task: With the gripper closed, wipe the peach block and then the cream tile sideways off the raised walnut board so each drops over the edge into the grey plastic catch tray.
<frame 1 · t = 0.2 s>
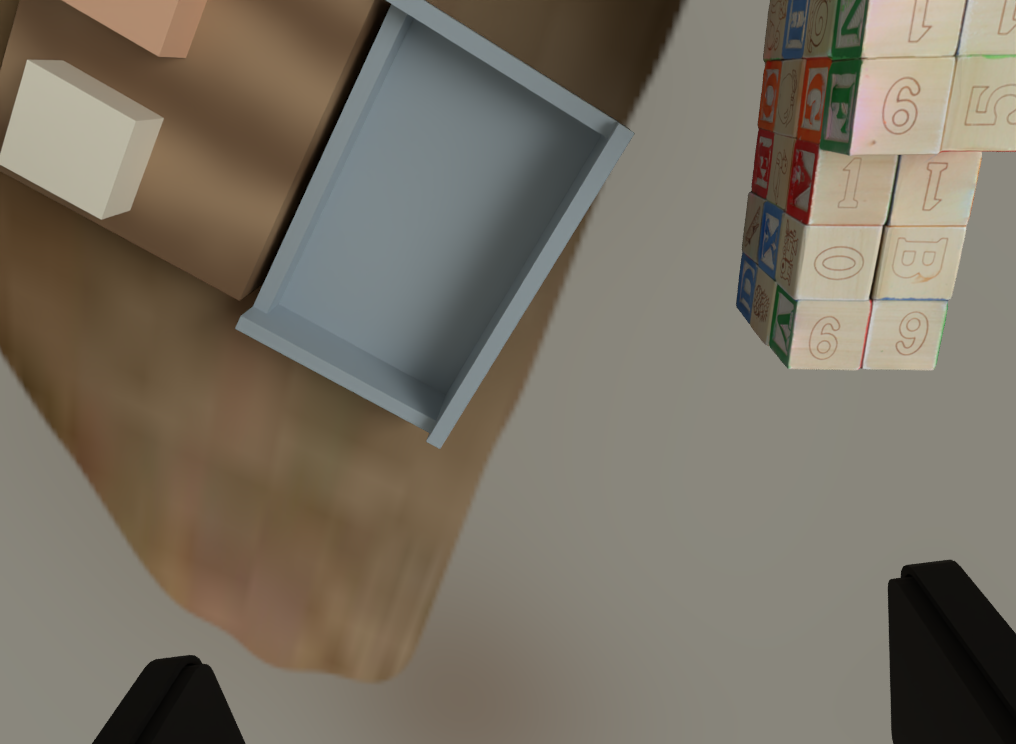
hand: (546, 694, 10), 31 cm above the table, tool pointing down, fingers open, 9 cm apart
walnut board: (194, 81, 37), on the table
stack of blocks: (822, 94, 36), on the table
cream tile: (97, 138, 35), point 3 cm above the table, touching walnut board
catch tray: (433, 221, 39), on the table
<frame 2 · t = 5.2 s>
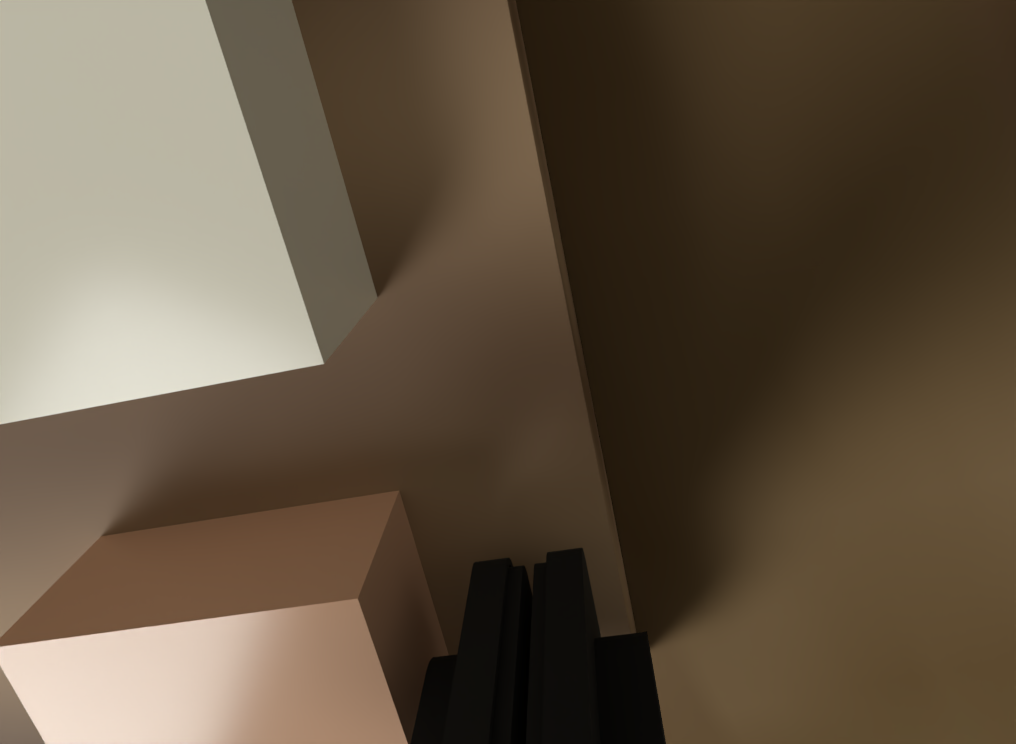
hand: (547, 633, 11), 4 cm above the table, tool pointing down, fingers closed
walnut board: (208, 373, 14), on the table
cream tile: (140, 150, 10), point 3 cm above the table, touching walnut board
peach block: (295, 639, 12), point 3 cm above the table, touching gripper
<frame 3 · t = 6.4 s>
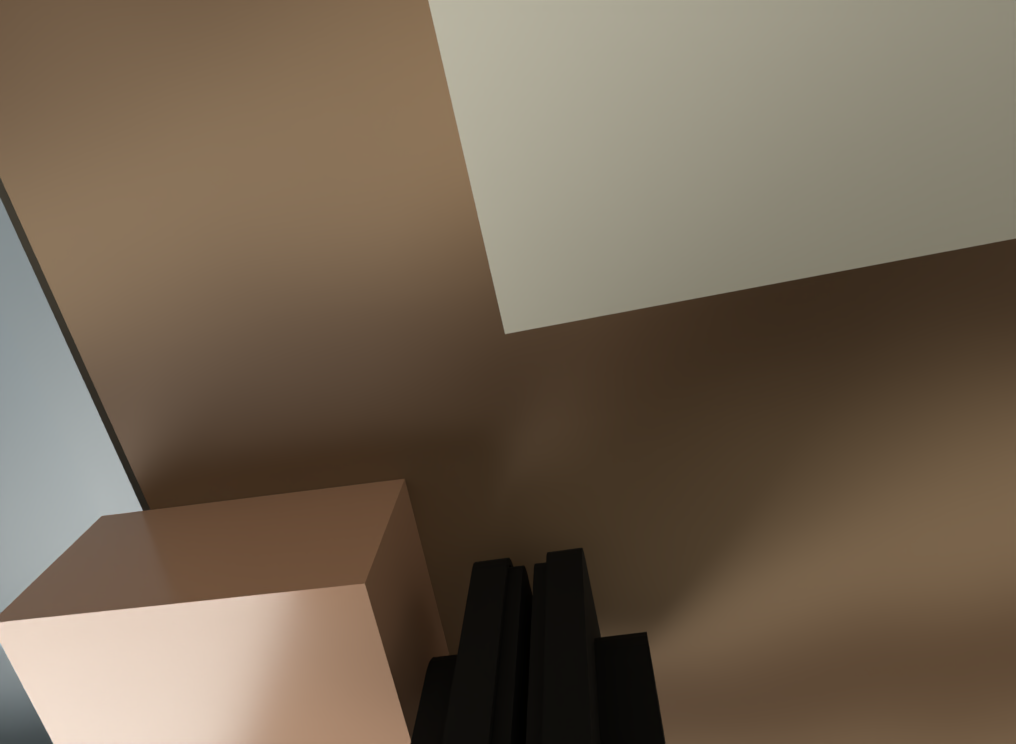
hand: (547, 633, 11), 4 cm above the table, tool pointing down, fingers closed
walnut board: (571, 307, 13), on the table
cream tile: (680, 29, 9), point 3 cm above the table, touching walnut board
peach block: (293, 625, 12), point 3 cm above the table, touching gripper
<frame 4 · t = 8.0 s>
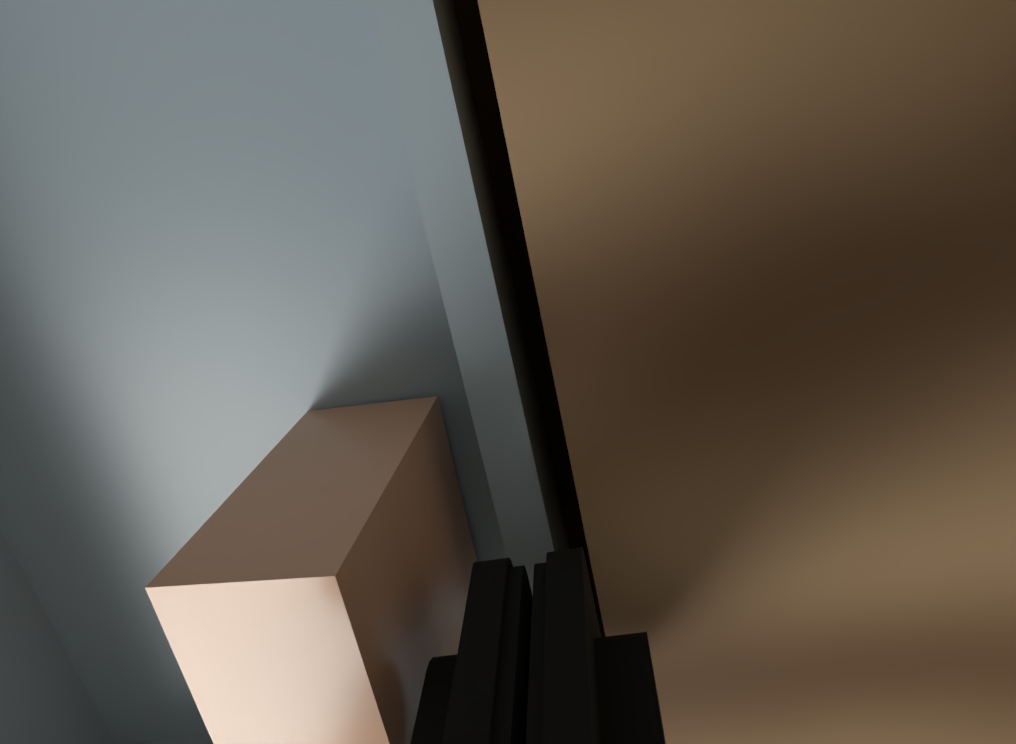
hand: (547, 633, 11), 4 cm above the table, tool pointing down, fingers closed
walnut board: (970, 233, 12), on the table
catch tray: (211, 371, 14), on the table
peach block: (434, 605, 12), point 3 cm above the table, tilted 95°, touching catch tray, gripper
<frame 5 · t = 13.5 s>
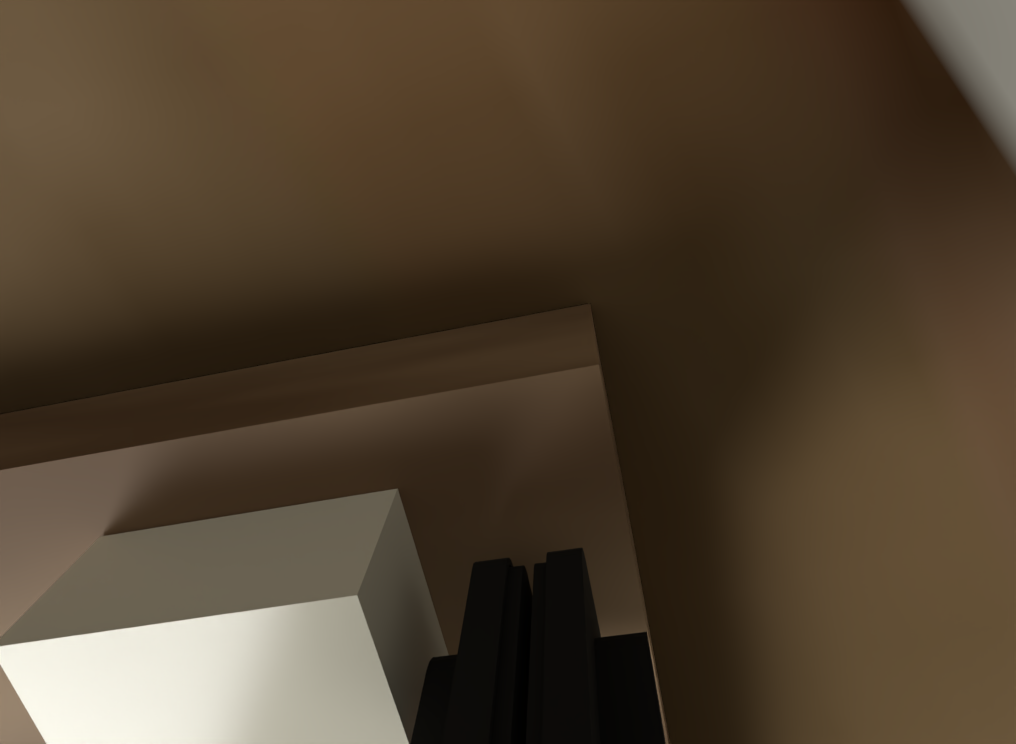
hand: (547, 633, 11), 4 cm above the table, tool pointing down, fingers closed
walnut board: (346, 692, 17), on the table
cream tile: (294, 638, 12), point 3 cm above the table, touching gripper
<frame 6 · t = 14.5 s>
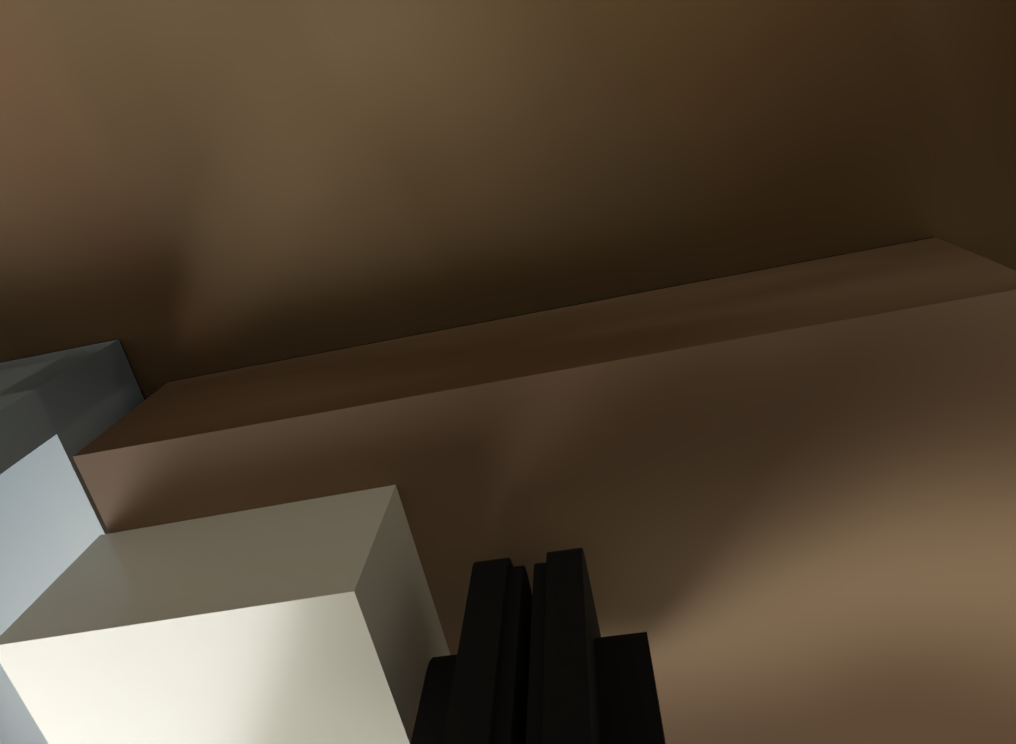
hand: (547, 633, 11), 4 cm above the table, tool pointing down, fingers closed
walnut board: (599, 661, 16), on the table
cream tile: (295, 635, 12), point 3 cm above the table, touching gripper, walnut board
catch tray: (41, 729, 18), on the table
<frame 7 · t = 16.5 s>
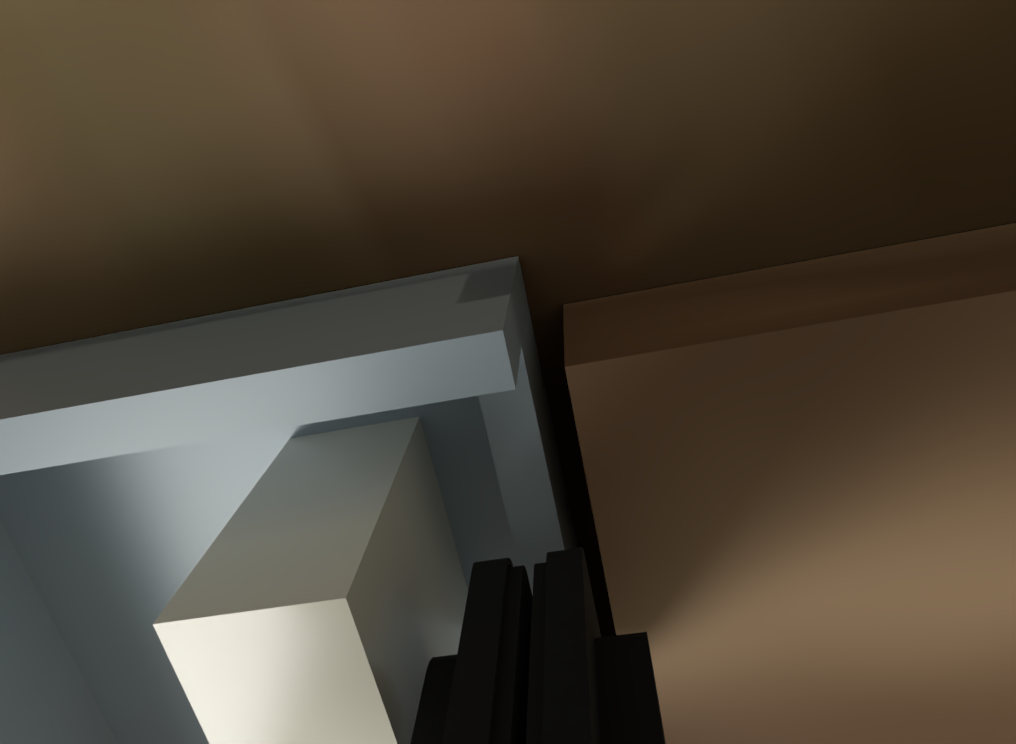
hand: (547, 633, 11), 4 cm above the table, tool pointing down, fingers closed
walnut board: (974, 617, 15), on the table
cream tile: (431, 621, 12), point 3 cm above the table, tilted 90°, touching catch tray, gripper
catch tray: (337, 690, 17), on the table
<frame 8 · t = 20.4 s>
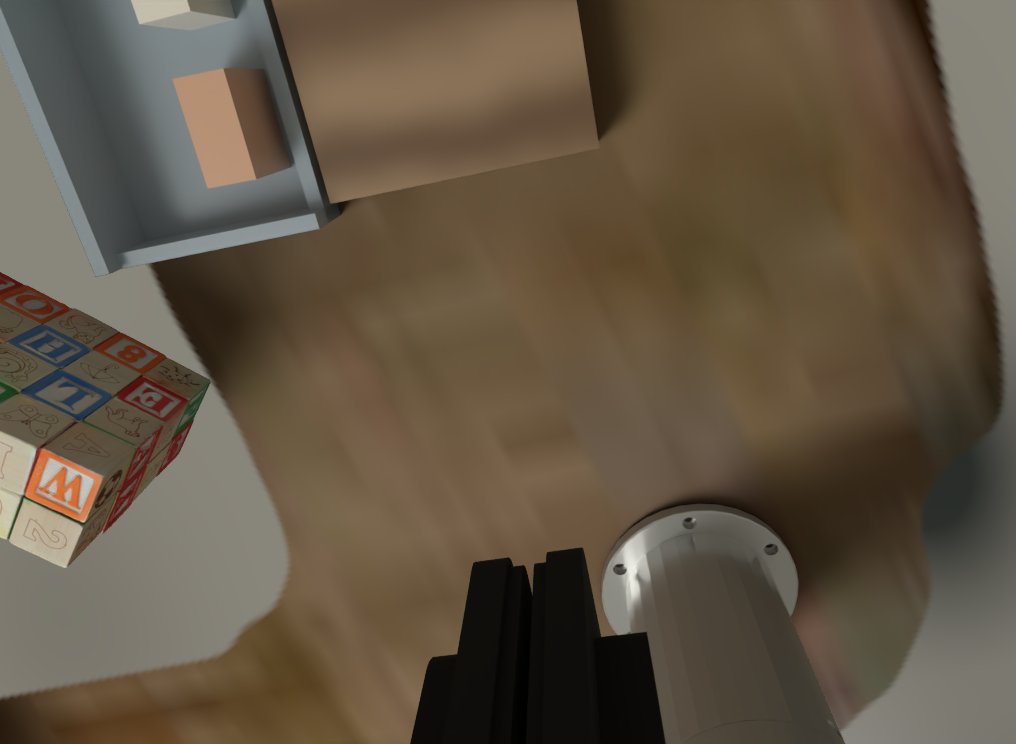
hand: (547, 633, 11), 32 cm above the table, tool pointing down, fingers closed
walnut board: (433, 9, 37), on the table
stack of blocks: (39, 335, 46), on the table
catch tray: (184, 68, 39), on the table
peach block: (260, 122, 37), point 3 cm above the table, tilted 90°, touching catch tray
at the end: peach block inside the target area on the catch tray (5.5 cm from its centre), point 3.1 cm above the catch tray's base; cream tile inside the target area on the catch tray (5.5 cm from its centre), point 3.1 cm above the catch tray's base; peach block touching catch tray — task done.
